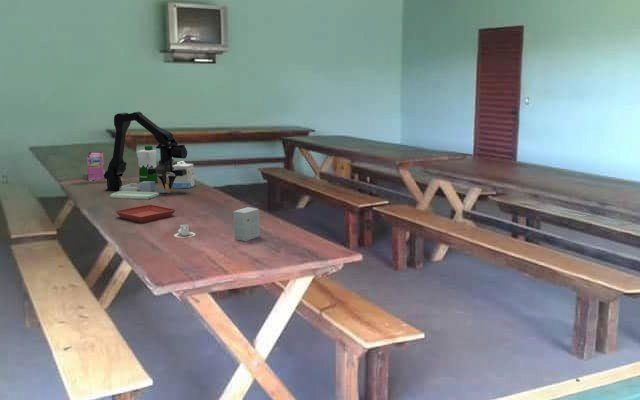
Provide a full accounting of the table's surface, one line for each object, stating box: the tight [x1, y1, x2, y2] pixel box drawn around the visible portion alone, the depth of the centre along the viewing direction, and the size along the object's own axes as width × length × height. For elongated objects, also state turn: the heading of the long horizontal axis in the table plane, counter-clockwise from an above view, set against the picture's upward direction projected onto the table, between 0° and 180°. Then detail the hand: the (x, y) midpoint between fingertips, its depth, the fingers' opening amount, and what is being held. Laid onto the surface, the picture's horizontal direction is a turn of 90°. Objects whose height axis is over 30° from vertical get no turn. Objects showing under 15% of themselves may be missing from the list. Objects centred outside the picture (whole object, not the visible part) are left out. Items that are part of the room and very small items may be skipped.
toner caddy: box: [138, 181, 172, 194], centre depth 318 cm, size 15×5×5 cm, turn 77°
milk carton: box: [135, 145, 159, 185], centre depth 340 cm, size 9×9×20 cm
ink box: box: [172, 160, 195, 189], centre depth 331 cm, size 9×8×13 cm
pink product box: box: [86, 151, 106, 181], centre depth 362 cm, size 24×8×14 cm, turn 16°
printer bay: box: [119, 183, 140, 192], centre depth 321 cm, size 9×10×3 cm
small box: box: [233, 206, 261, 242], centre depth 230 cm, size 8×6×10 cm
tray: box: [108, 190, 160, 201], centre depth 307 cm, size 21×10×2 cm, turn 77°
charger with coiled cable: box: [173, 224, 197, 239], centre depth 236 cm, size 9×8×4 cm
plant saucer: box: [114, 204, 177, 223], centre depth 265 cm, size 18×18×3 cm
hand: (167, 188), depth 316 cm, fingers closed on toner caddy, 2 cm apart
